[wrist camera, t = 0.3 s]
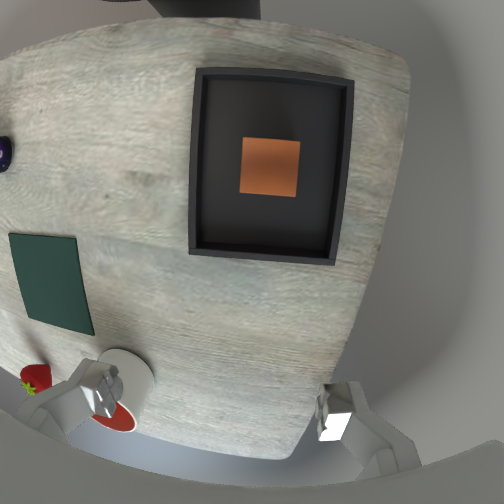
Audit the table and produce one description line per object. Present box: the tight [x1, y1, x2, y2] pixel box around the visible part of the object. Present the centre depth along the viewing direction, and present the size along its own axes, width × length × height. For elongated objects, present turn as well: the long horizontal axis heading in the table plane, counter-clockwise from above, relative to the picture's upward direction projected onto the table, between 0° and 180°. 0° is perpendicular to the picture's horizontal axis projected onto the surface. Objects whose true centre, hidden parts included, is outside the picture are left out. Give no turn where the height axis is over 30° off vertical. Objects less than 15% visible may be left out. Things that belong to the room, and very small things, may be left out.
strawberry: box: [20, 364, 52, 396], centre depth 39 cm, size 6×8×10 cm
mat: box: [8, 233, 95, 336], centre depth 36 cm, size 16×16×1 cm
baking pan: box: [188, 67, 355, 266], centre depth 28 cm, size 20×16×3 cm
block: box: [239, 137, 300, 197], centre depth 27 cm, size 5×5×5 cm
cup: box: [91, 349, 154, 432], centre depth 36 cm, size 10×10×10 cm
